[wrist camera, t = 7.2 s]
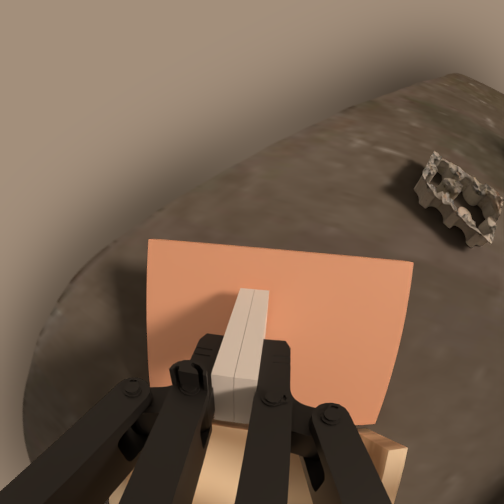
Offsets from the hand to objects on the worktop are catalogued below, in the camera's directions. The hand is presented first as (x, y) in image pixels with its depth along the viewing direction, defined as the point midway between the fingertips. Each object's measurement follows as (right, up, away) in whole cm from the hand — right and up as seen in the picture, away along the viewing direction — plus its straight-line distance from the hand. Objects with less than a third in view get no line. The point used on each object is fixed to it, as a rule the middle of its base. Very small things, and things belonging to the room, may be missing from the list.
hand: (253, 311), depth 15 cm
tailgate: (+1, -8, +2) cm, 8 cm away
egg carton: (+22, +8, +9) cm, 25 cm away
